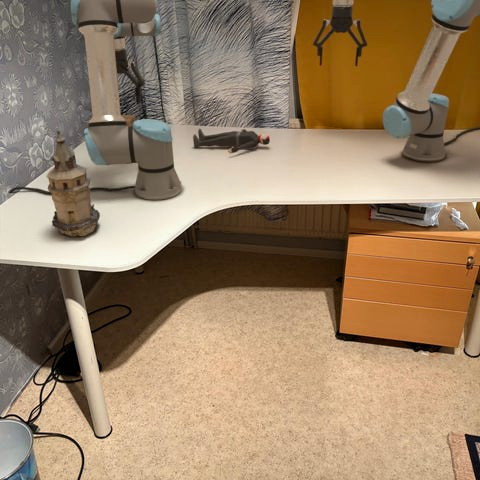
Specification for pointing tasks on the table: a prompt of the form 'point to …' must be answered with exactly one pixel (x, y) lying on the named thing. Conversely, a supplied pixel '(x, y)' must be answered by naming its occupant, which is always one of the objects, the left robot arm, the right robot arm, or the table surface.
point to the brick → (129, 119)
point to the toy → (231, 140)
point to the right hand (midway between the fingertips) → (338, 65)
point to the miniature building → (70, 193)
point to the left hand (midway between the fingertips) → (122, 102)
